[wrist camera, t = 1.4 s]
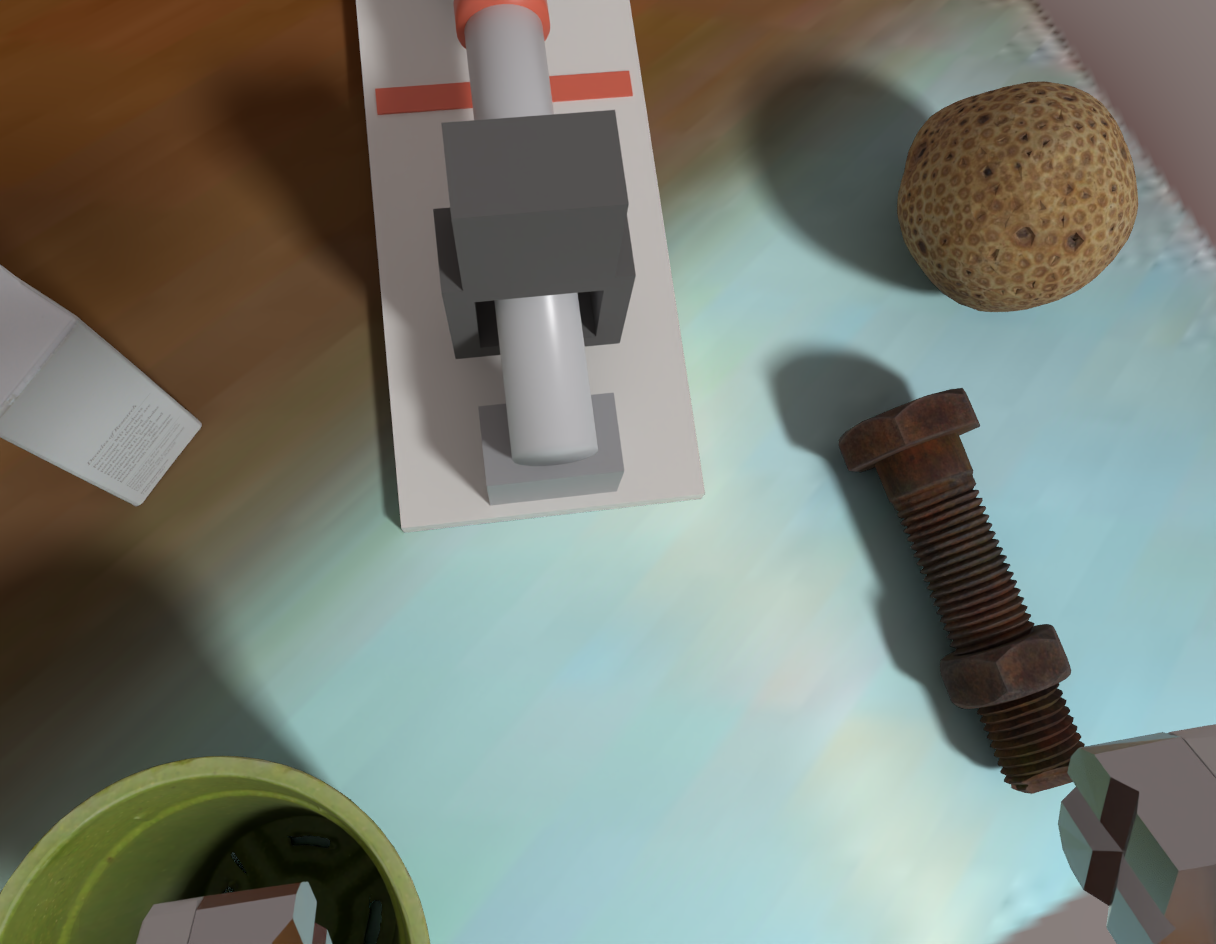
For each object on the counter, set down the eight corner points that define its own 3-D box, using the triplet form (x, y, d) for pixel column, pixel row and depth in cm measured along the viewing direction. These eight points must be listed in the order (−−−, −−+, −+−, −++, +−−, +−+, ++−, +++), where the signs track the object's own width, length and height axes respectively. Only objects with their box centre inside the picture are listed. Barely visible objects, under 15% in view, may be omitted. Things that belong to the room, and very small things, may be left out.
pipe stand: (701, 498, 42) (738, 451, 34) (404, 532, 41) (375, 491, 33) (615, -66, 48) (630, -213, 40) (353, -51, 47) (319, -199, 39)
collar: (619, 343, 40) (653, 202, 29) (455, 359, 40) (425, 221, 28) (610, 272, 41) (639, 108, 30) (448, 287, 40) (416, 124, 29)
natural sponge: (822, 205, 45) (902, 66, 36) (993, 136, 47) (1114, -15, 37) (920, 384, 44) (1030, 291, 34) (1093, 308, 45) (1247, 197, 35)
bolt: (988, 778, 42) (853, 439, 44) (1116, 745, 40) (968, 394, 43) (980, 820, 37) (826, 433, 39) (1127, 784, 35) (956, 380, 37)
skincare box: (16, 431, 40) (-192, 317, 29) (86, 346, 41) (-87, 203, 30) (141, 514, 40) (-18, 432, 28) (209, 426, 41) (82, 312, 29)
